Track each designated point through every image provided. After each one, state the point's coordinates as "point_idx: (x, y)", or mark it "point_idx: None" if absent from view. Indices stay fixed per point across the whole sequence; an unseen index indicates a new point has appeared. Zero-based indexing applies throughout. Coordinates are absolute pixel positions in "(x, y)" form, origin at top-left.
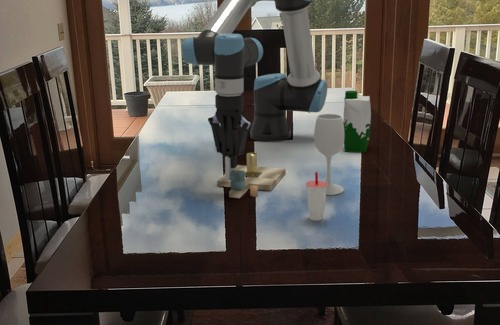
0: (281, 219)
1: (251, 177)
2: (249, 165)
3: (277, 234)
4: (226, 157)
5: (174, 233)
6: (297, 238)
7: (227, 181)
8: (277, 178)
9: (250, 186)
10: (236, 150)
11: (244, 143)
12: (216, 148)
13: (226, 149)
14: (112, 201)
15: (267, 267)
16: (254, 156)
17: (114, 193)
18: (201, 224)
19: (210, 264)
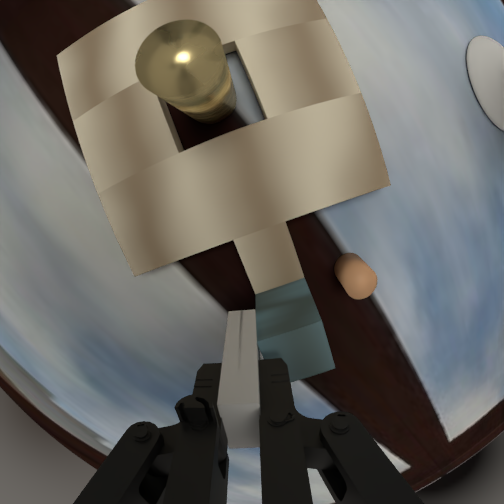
0: (474, 352)
1: (236, 134)
2: (200, 110)
3: (473, 398)
4: (241, 445)
5: None
6: (499, 384)
7: (178, 258)
8: (350, 71)
9: (346, 289)
10: (335, 484)
11: (401, 492)
12: (147, 479)
13: (224, 479)
14: (81, 445)
15: (466, 448)
16: (220, 69)
17: (42, 415)
18: None
19: None
